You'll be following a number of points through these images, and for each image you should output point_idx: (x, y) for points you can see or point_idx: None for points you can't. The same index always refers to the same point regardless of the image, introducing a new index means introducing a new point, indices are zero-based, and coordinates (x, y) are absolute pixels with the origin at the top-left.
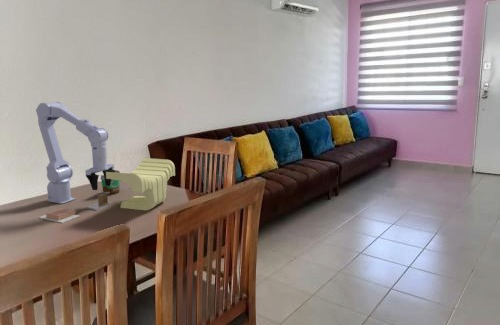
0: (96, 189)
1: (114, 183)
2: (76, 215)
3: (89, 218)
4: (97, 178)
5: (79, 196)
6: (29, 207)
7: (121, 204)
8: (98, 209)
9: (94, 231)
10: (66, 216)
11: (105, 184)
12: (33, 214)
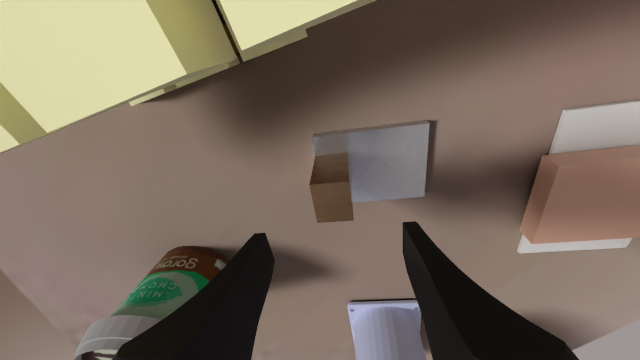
0: (414, 225)
1: (165, 291)
2: (565, 129)
3: (593, 13)
4: (461, 315)
5: (314, 313)
6: None
7: (291, 37)
8: (410, 122)
9: None
10: (619, 148)
11: (272, 267)
12: (573, 286)
